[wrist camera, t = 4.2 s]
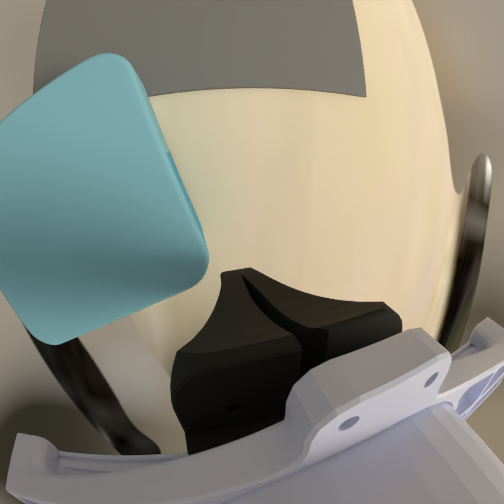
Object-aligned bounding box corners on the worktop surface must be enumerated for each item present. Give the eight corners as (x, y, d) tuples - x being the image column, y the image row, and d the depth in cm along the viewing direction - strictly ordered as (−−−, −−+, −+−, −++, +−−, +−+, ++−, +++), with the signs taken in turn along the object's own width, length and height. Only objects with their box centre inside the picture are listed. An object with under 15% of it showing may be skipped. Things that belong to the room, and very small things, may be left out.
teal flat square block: (136, 65, 12) (-12, 165, 11) (122, 38, 8) (-52, 177, 7) (209, 243, 17) (63, 311, 16) (220, 277, 13) (44, 352, 12)
